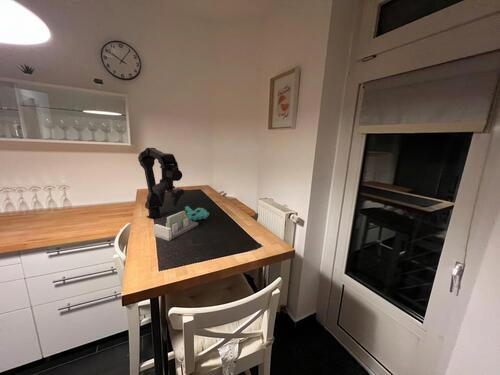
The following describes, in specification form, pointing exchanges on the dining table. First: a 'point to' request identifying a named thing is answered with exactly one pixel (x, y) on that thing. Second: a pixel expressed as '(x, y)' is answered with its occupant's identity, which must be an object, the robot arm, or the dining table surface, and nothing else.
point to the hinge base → (173, 229)
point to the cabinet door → (176, 219)
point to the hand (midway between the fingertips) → (168, 204)
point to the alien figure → (196, 213)
